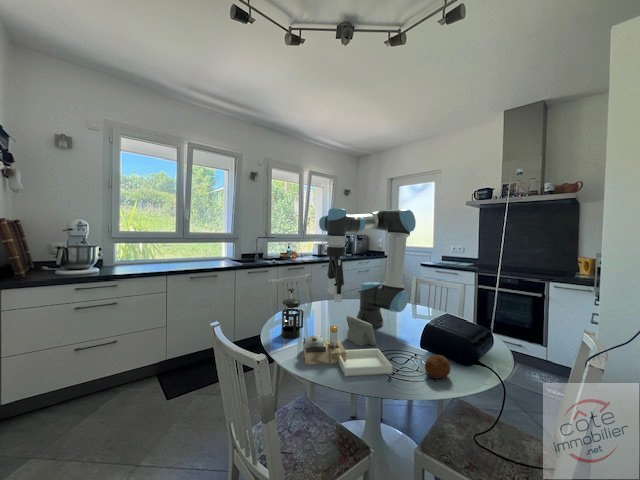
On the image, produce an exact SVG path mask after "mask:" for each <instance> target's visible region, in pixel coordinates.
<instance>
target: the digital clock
mask: <svg viewBox="0 0 640 480" xmlns="http://www.w3.org/2000/svg"><path fill="white" fill-rule="evenodd" d="M346 322H347V326H348V330H347V341H349V342H352V343H353V344H356V345H358V346H359V347H364V346H366V345H370V346H376V344H377V340H376V336H375V331H374V328H373V327H372V325H371V324H370V323H367V322H365V321H362V320H360V319H357V318H356V317H354V316H353V315H347V316H346Z"/></svg>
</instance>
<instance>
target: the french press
mask: <svg viewBox="0 0 640 480" xmlns="http://www.w3.org/2000/svg"><path fill="white" fill-rule="evenodd" d="M287 291H288V292H290V294H291V295H290V298H288V299H284V300H282V301H281V302H282V304H283V305H285V306H286V307H287V308H285V309H282V310H281V334H280V336H281V338H282V339H286V340H295V339H298V338H300V337H301V331H300V330H301V329H303V328H304V309H298V308H299V307H300V304H301V300H299V299H297V298H296V299H295V298H293V292H295V291H297V289H296V288H288V289H287ZM292 312H296V313H292ZM290 318H292V319H290Z"/></svg>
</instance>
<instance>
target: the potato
mask: <svg viewBox="0 0 640 480" xmlns="http://www.w3.org/2000/svg"><path fill="white" fill-rule="evenodd" d="M424 369H425V372H426V373H427V375H428V376H429V377H431V378H433V379H441V378H445V377H447V376H448V375H450V373H451V366H450V362H449V360H448V359H447V358H446V357H445V356H444V355H441V354H434V355H431V356H429V357H427V359H426V360H425V364H424Z"/></svg>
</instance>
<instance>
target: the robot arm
mask: <svg viewBox="0 0 640 480" xmlns="http://www.w3.org/2000/svg"><path fill="white" fill-rule="evenodd" d="M318 226H319V229H320V230H321V231H323V232H327V233H326V234H327V236H326V238H325V241H326V245H327V246H326V256H328V258H329V259H328V261H329V262H328V268H327V273H326V274H327V278H328V279H327V281H328V282H327V283H328V284H327V294H331V295H332V294H334V301H333V302H334V303H342V302H343V299H342V298H343V286H344V284H345V283H344V282H345V281H344V269H343V268H344V267H343V261H344V260H343V259H341V257H346V248H345V246H346V233H360V232H363V231H364V230H365V229H368V230H371V231H372V230H378V231H385V232H386V233H387V235H388V236H389V243H388V250H387V251H388V253H387V262H386V263H387V264H386V273H385V281H384V282H382V283H381V282H377V281H369V282H363V283H361V285H360V290H359V309H358V312H357V316H356V317H355V318H357V319H360V320H362V321H365V322H367V323H370V324H371V325H372V327H373V329H374V328H381V327H382V326H383V325H384V318H383V315H382V312H381V309H383V310H387V311H390V312H394V313H402V312H403V311H404V310H405V309H406V307H407V304H408V303H409V293H408V292H407V291H406V290H405V288H406V287H405V285H404V284H403V277H404V268H405V267H404V266H405V256H406V250H407V249H406V247H407V245H406V244H407V238H409V237H410V236H411V233H412V232H413V231H414V230H415V228H416V217H415V215H414V212H413V211H412V210H411V209H406V208H398V209H380V210H378V211H377V210H376V211H370V212H367V213H362V214H361V213H360V214H347V210H346V209H345V208H338V207H337V208H329V209H328V212H327V215H323V216H321V217H320V218H319V221H318Z"/></svg>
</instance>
